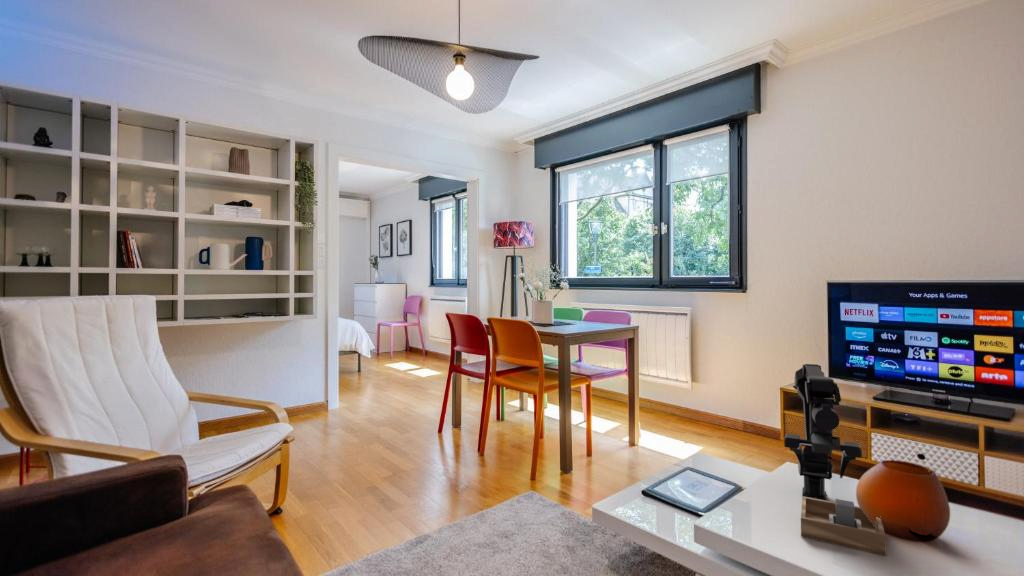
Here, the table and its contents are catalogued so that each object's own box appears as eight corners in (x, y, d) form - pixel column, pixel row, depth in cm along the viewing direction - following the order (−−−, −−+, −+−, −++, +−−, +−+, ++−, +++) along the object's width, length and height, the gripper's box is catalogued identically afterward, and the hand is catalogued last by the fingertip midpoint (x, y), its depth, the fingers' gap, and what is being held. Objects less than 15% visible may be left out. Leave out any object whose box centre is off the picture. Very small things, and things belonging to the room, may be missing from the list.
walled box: (802, 513, 141) (802, 496, 141) (878, 528, 132) (878, 510, 132) (801, 536, 128) (800, 517, 128) (886, 556, 118) (885, 535, 118)
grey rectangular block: (835, 528, 130) (835, 498, 130) (854, 531, 128) (853, 502, 128) (836, 534, 127) (835, 504, 127) (855, 538, 125) (854, 507, 125)
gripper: (783, 423, 138) (783, 477, 138) (863, 432, 128) (863, 491, 128) (785, 414, 147) (785, 465, 147) (859, 423, 137) (860, 477, 137)
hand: (821, 474), depth 140 cm, fingers open, 9 cm apart
